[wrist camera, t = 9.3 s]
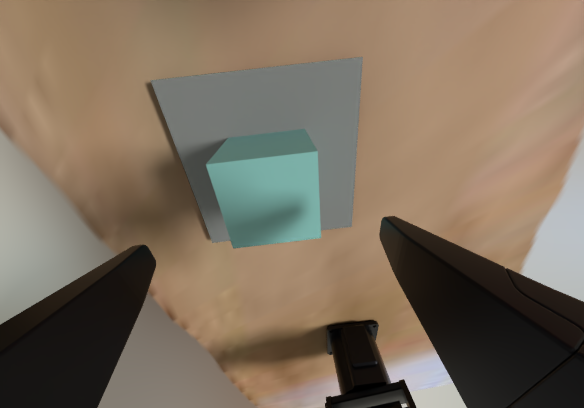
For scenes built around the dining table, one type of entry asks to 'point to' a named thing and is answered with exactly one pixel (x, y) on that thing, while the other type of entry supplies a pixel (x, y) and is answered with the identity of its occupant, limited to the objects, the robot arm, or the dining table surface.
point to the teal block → (268, 187)
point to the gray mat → (268, 125)
